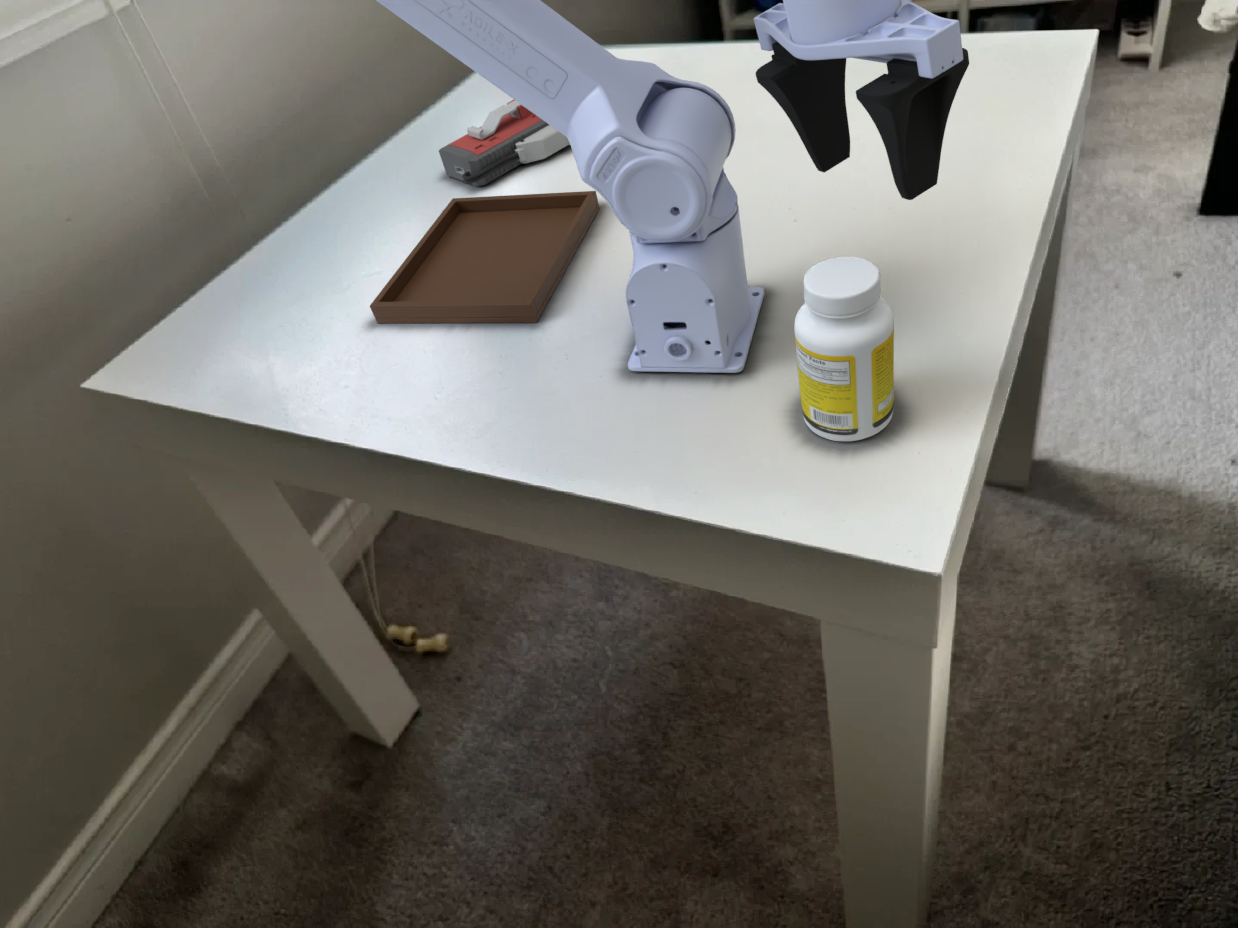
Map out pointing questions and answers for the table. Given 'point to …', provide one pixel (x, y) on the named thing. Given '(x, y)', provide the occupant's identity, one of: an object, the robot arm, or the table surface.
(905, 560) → the table surface
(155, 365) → the table surface
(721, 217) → the robot arm
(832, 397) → the supplement bottle
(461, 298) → the tray
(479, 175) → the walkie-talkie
